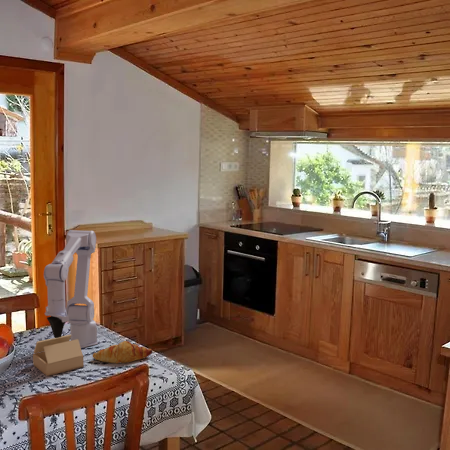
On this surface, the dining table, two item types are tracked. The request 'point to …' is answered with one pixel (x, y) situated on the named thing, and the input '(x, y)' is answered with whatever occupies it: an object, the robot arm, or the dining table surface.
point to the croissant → (122, 353)
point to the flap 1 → (50, 342)
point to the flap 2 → (62, 351)
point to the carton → (56, 364)
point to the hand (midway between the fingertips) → (57, 337)
